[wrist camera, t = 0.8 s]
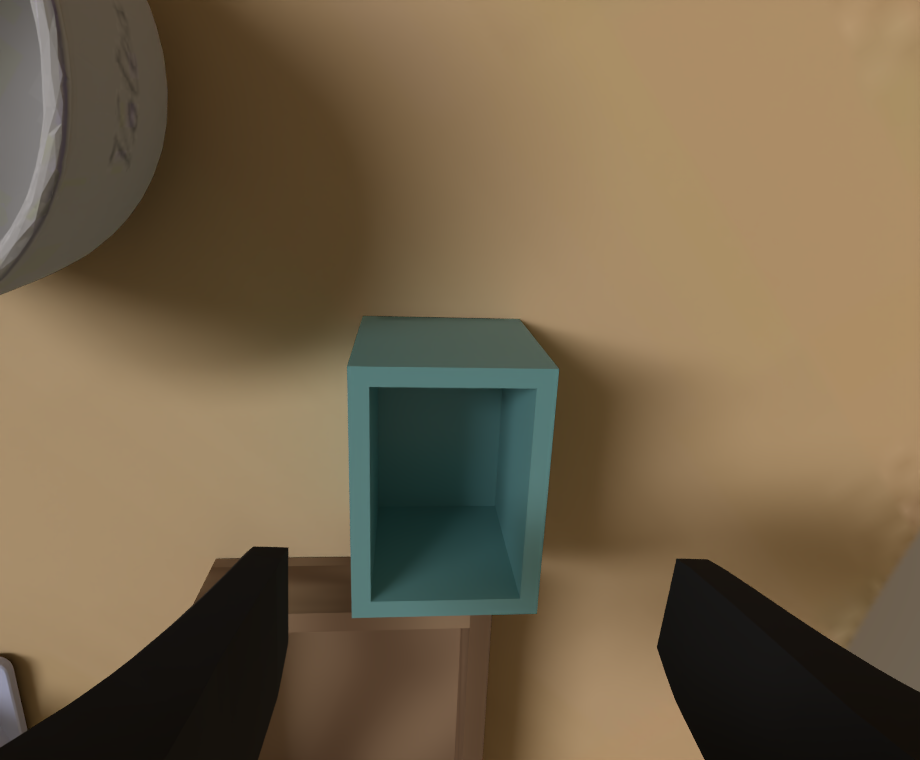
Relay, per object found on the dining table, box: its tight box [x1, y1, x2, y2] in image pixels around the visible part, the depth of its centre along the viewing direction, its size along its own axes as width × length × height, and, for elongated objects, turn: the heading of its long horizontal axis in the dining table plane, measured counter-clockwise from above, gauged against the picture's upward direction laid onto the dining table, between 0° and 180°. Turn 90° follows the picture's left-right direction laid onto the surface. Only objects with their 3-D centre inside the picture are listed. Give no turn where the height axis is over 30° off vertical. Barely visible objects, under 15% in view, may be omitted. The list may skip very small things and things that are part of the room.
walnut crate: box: [193, 557, 492, 760], centre depth 23 cm, size 9×11×3 cm
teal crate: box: [347, 316, 559, 618], centre depth 18 cm, size 5×7×6 cm
